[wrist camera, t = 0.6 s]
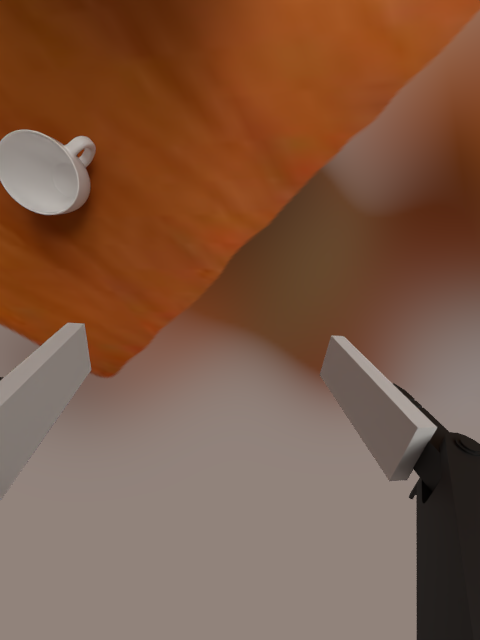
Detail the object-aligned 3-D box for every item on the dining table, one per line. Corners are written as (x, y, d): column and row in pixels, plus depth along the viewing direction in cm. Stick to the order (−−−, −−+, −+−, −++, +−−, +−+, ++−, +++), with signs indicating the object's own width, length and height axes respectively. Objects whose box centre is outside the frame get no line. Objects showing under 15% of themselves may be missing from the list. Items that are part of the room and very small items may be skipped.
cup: (21, 172, 31) (-24, 164, 25) (78, 115, 30) (45, 92, 24) (74, 225, 35) (45, 230, 28) (128, 177, 33) (110, 170, 27)
